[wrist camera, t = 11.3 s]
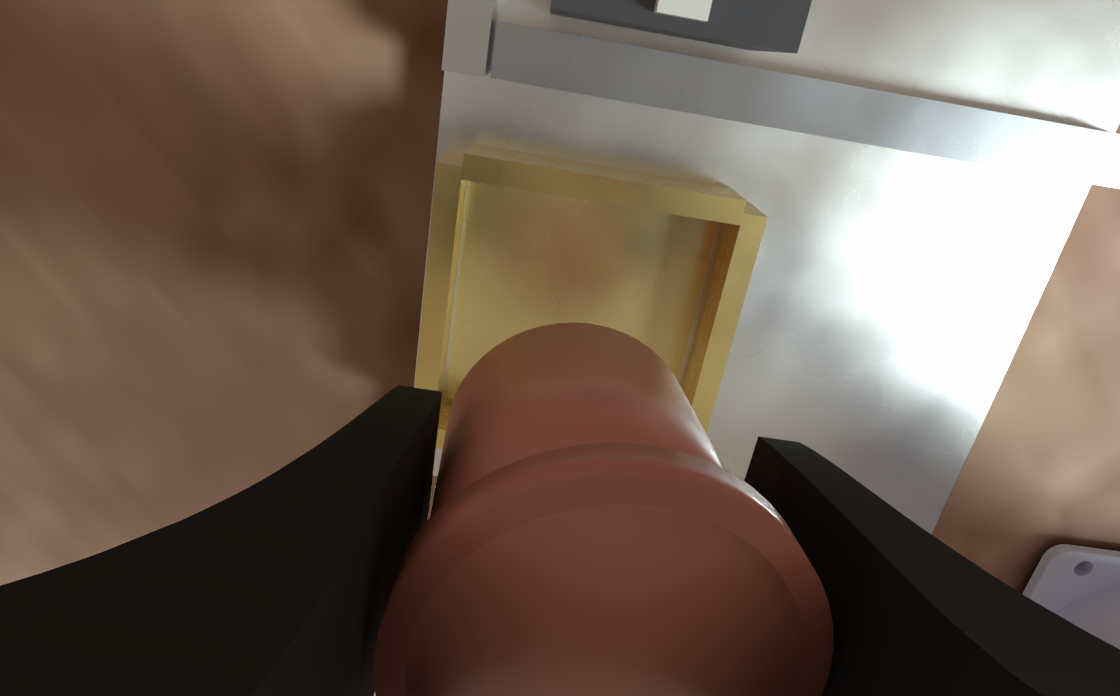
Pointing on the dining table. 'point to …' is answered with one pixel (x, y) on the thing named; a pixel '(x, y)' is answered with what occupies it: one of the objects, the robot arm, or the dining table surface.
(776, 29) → the switch
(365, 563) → the robot arm
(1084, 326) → the dining table surface
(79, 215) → the dining table surface
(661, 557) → the cap
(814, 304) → the panel
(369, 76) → the dining table surface
